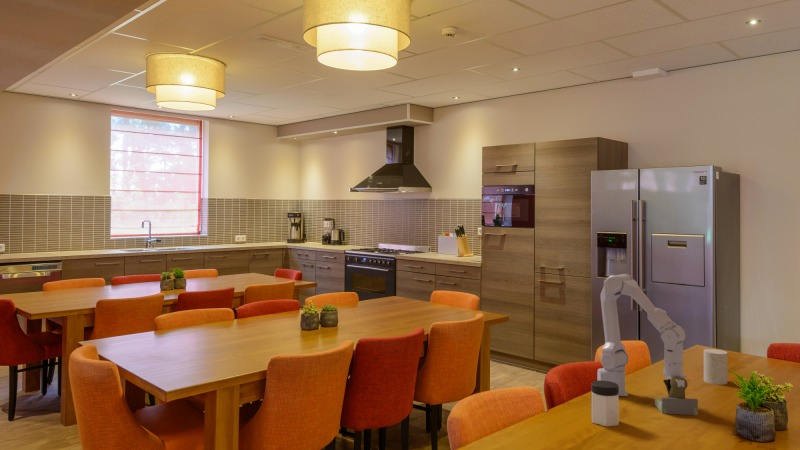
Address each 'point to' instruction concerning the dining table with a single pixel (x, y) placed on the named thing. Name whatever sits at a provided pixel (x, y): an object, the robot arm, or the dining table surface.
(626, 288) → the robot arm
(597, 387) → the jar
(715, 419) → the dining table surface
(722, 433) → the dining table surface
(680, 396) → the cork
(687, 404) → the grey rectangular box
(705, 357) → the white stone cylinder
